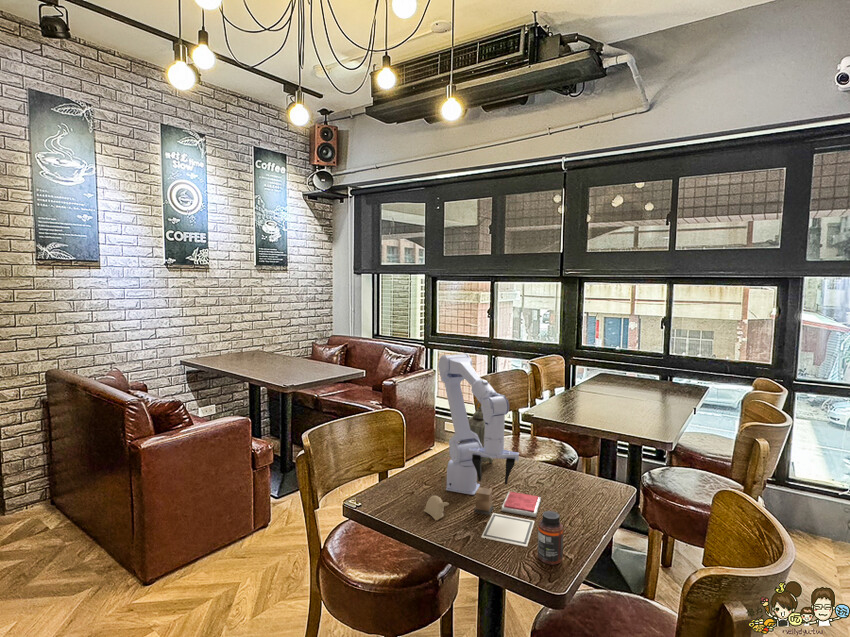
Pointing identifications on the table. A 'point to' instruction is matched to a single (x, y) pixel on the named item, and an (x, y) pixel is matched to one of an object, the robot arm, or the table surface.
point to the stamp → (483, 501)
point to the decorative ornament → (435, 507)
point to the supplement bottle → (550, 538)
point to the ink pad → (521, 504)
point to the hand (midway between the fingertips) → (492, 481)
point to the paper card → (508, 529)
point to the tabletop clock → (478, 428)
